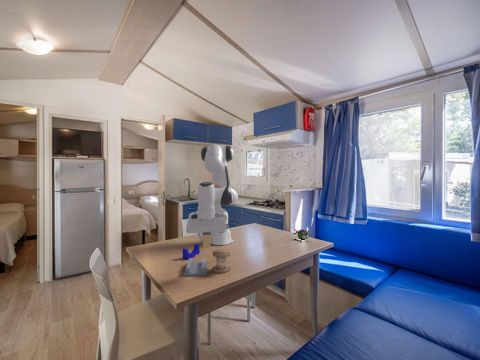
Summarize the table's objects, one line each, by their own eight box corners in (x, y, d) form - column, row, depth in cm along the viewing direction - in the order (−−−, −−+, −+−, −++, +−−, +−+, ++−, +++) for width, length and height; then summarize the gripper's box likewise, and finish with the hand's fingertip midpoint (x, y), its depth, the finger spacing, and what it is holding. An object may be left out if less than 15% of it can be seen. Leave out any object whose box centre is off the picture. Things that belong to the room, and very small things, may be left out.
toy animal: (308, 244, 163) (309, 231, 163) (291, 240, 174) (291, 228, 174) (316, 241, 171) (316, 229, 171) (298, 237, 182) (299, 225, 182)
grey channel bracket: (187, 263, 127) (187, 257, 127) (207, 262, 128) (207, 256, 128) (183, 276, 111) (183, 269, 111) (206, 275, 112) (206, 268, 112)
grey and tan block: (202, 245, 117) (202, 231, 117) (210, 244, 118) (210, 230, 118) (202, 247, 113) (202, 233, 113) (211, 247, 114) (210, 233, 114)
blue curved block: (188, 260, 133) (188, 250, 133) (182, 258, 136) (182, 248, 135) (201, 254, 144) (201, 244, 143) (196, 252, 146) (196, 243, 146)
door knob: (212, 266, 123) (212, 250, 123) (229, 265, 124) (229, 249, 124) (212, 273, 114) (212, 255, 114) (230, 272, 115) (230, 255, 115)
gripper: (226, 212, 120) (226, 238, 120) (186, 213, 117) (187, 240, 118) (227, 214, 114) (227, 242, 114) (185, 215, 111) (185, 243, 111)
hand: (206, 241), depth 116 cm, fingers closed on grey and tan block, 4 cm apart
